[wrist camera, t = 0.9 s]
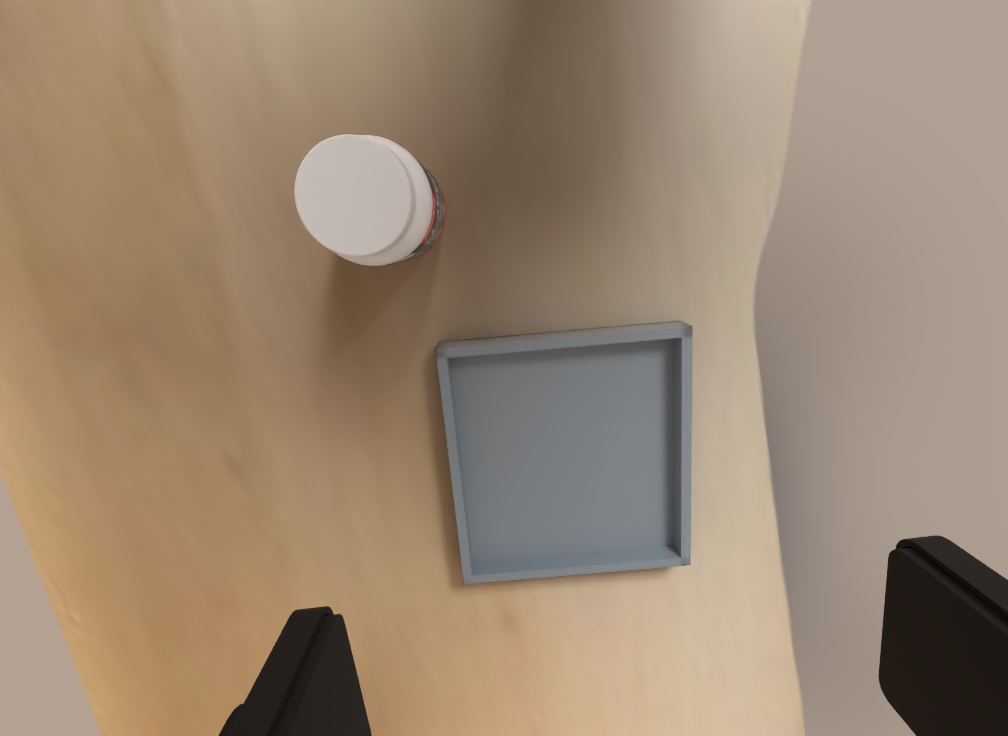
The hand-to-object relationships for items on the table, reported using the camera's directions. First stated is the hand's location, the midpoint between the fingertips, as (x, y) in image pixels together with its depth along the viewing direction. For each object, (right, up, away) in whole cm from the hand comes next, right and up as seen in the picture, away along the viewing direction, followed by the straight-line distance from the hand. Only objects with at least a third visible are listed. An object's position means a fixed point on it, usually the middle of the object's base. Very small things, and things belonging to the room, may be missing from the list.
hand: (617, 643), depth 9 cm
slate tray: (+2, -1, +25) cm, 25 cm away
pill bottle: (-8, +14, +22) cm, 27 cm away
